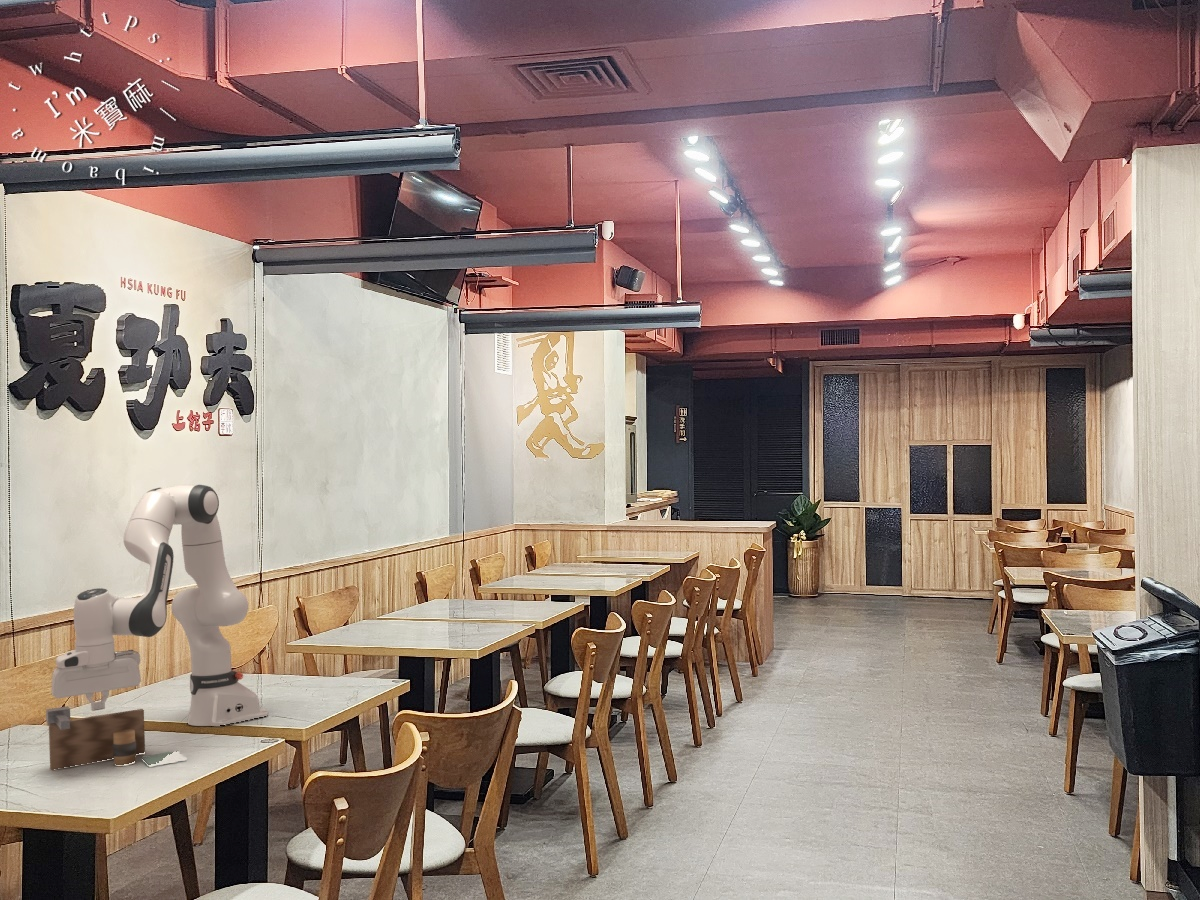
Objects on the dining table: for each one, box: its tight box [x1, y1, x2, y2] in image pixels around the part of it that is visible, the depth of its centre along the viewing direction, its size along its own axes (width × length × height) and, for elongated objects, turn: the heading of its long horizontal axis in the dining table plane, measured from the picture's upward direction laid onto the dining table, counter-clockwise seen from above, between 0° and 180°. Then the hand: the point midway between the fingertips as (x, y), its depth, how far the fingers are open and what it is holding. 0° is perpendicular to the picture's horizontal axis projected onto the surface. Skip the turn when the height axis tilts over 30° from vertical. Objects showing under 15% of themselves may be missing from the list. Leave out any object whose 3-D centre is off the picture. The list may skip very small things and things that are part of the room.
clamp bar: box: [45, 706, 71, 730], centre depth 262 cm, size 5×14×3 cm, turn 35°
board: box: [48, 708, 146, 771], centre depth 271 cm, size 22×2×12 cm, turn 125°
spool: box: [113, 730, 137, 765], centre depth 269 cm, size 5×5×8 cm
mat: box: [140, 750, 178, 765], centre depth 270 cm, size 9×9×1 cm
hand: (98, 709), depth 266 cm, fingers closed
